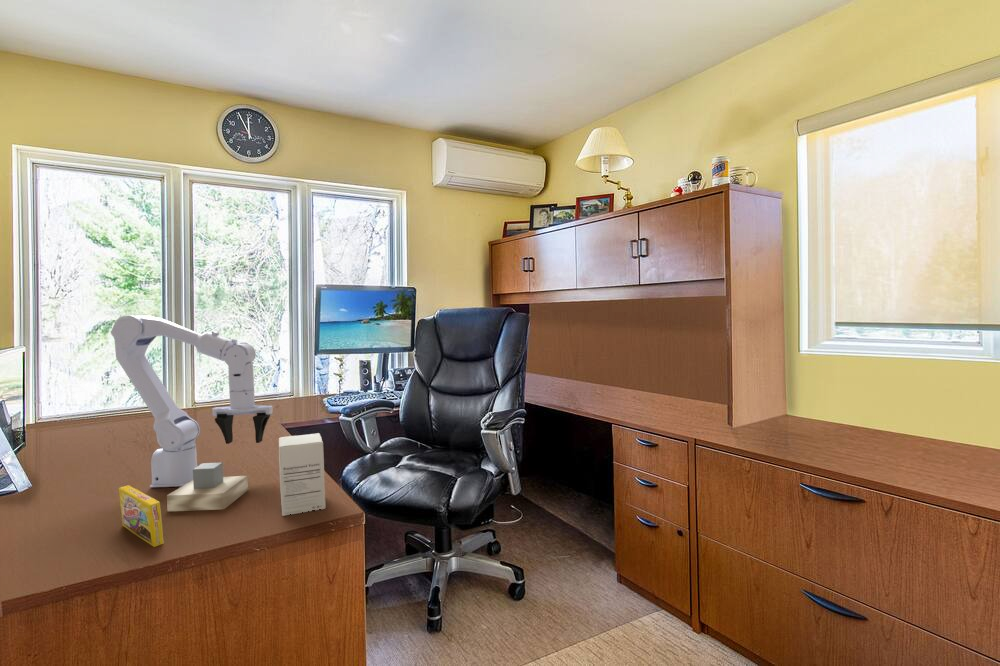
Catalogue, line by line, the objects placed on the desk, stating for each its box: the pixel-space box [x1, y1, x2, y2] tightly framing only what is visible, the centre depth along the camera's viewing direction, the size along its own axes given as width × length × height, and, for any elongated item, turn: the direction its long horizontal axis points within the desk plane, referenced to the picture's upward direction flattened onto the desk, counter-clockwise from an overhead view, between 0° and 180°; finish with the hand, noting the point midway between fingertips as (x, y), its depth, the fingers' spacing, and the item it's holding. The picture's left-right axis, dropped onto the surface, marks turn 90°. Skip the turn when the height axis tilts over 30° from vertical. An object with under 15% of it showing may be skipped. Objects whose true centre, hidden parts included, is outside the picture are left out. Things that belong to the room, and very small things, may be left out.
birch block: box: [166, 475, 249, 512], centre depth 118 cm, size 12×12×4 cm
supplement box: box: [278, 432, 327, 517], centre depth 113 cm, size 9×9×15 cm
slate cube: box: [193, 462, 224, 489], centre depth 118 cm, size 4×4×4 cm
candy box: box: [118, 484, 165, 548], centre depth 100 cm, size 16×2×8 cm, turn 53°
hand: (244, 442), depth 133 cm, fingers open, 7 cm apart
